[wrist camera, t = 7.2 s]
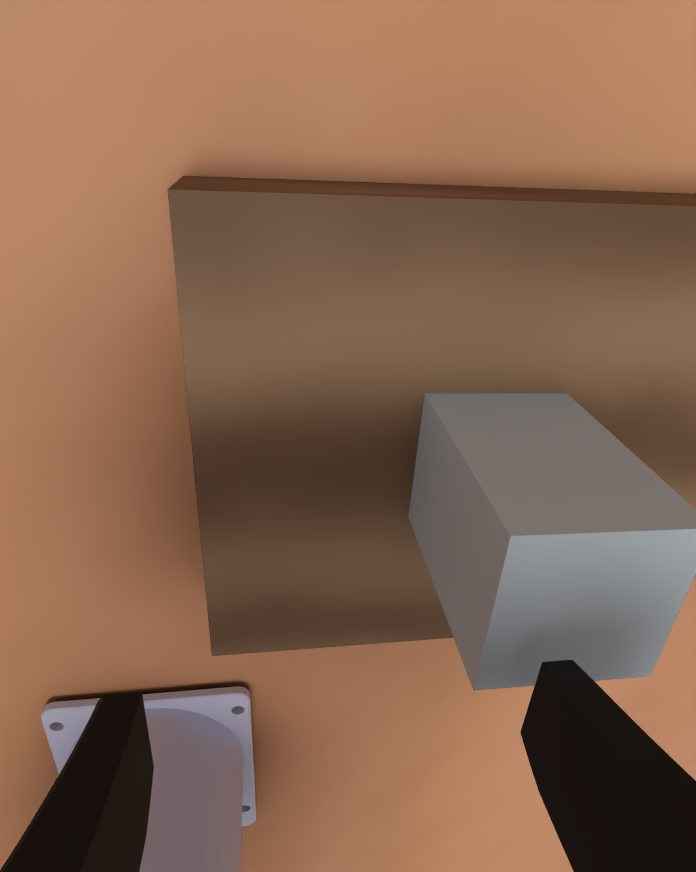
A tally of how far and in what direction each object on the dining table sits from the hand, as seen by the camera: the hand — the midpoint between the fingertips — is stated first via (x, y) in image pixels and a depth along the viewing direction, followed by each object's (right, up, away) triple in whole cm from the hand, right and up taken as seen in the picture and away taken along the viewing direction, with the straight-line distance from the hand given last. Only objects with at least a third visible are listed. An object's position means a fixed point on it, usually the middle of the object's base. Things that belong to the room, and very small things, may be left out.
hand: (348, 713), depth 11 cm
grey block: (+4, +4, +6) cm, 8 cm away
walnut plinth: (+3, +6, +9) cm, 11 cm away
